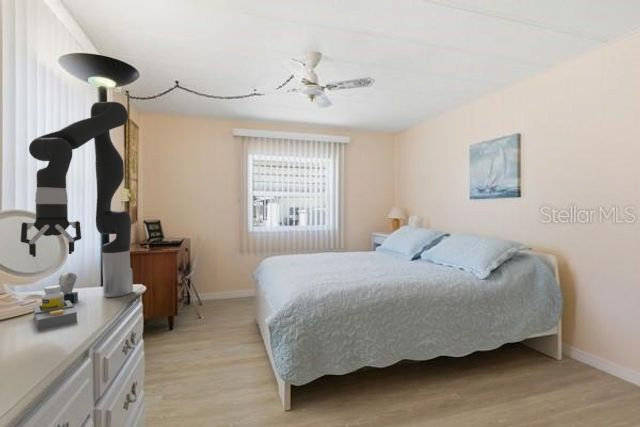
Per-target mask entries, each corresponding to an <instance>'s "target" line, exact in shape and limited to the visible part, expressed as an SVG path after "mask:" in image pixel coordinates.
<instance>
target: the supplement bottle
mask: <svg viewBox="0 0 640 427" xmlns="http://www.w3.org/2000/svg"><path fill="white" fill-rule="evenodd" d="M60 290H61V286H60V285H59V284H55V285H49V286H46V287H44V294H43V295H42V297H41V305H42V311H43V310H49V309H54V308H60V307H64V294H63V292H60Z"/></svg>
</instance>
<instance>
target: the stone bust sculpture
mask: <svg viewBox="0 0 640 427" xmlns="http://www.w3.org/2000/svg"><path fill="white" fill-rule="evenodd" d="M77 279H78V276H77V275H76V274H75V273H74V272H70V271H69V272H67V271H66V272H61V273H60V275H59V278H58V285H60V286H61V290H60V292H63V294H64V301H67V300H69V301H70V302H71V303H72V305H73V304H75V303H77V302H78V301H79V293H78V291H73V289H74V286H75V284H76V281H77Z"/></svg>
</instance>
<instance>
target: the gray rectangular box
mask: <svg viewBox="0 0 640 427" xmlns="http://www.w3.org/2000/svg"><path fill="white" fill-rule="evenodd" d="M77 315H78V314H77V310H76V309H75V308H74V305H73V304H72V303H71V302H70V301H69V300H67V301H64V307H60V308H54V309H49V310H43V311H42V304H41V305H40V304H39V305H33V319H34V322H35V325H36V328H37V331H41V330H45V329H51V328H55V327H59V326H64V325H67V324H74V323H77V322H78V316H77Z"/></svg>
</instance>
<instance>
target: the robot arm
mask: <svg viewBox="0 0 640 427" xmlns="http://www.w3.org/2000/svg"><path fill="white" fill-rule="evenodd" d="M128 119H129V114H128V111H127V108H126V107H125V105H124V104H122V103H121V102H117V101H97V102H94V103H93V104H92V105H91V107H90V117H88V118H83V119H80V120H78V121H77V120H76V121H74V122H72V123H70V124H68V125H65V127H63V128H60V130H57V131H54V132H50V133H47V134H44V135H41V136H38V137H36V138H35V139H33V140H32V141H31V142H30V143H29V146H28V151H29V154H30V155H31V157H32V158H34V159H35V160H37V161H41V162H48V163H47V166H46V167H43V168H40V169H38V170H37V171H36V176H35V178H36V192H35V199H34V201H35V221H34V222H27V221H24V222H22V223H21V228H20V230H21V231H20V242H21V243H23V244H28V245H29V246H28V247H29V248H28V250H29V251H28V253H29V255H30V256H32V258H34V257H36V256H37V243H36V242H37V241H38V240H39V239H40V238H41V236H45V237H50V236H56V237H57V236H61V235H62V236H63V237H65V238H66V240H68V255H72V253H74V252H75V243H76V241H79V240H81V239H82V231H81V222H80V221H79V220H76V221H69V220H68V218H69V217H68V215H69V214H68V210H69V209H68V202H69V201H68V200H69V199H68V193H67V174H68V172H69V168H70V166H71V162H72V159H73V151H74V150H76V149H79V148H81V147H82V146H83V145H85V144H86V143H88V142H90V141H92V140H94V154H95V155H94V156H95V161H94V162H95V163H94V164H95V180H96V208H95V210H96V211H95V225H96V230H97V232H99V234H101V235H115V239H114V240H112V241H109V242H107V243H104V244H103V245H102V247H101V252H102V253H101V255H102V256H101V257H102V261H101V262H102V287H103V288H102V289H103V297H105V298H115V297H116V298H117V297H122V296H126V295H128V294H131V293H132V292H134V282H133V280H134V278H133V268H132V267H131V256H130V255H131V254H130V250H131V235H132V230H131V229H132V218H131V215H130V213H129V212H128V211H126V210H112V208H111V207H112V200H113V197H114V196H115V194H116V192H117V191H118V189H119V187H121V184H122V183H123V181H124V178H125V177H124V176H125V166H124V160H123V157H122V155H121V154H120V152H119V151H118V150H117V148H116V147H115V145H114V144H113V142H112V139H111V138H112V137H111V134H110V131H111V130H113V129H116V128H120V127H122V126H124V125H125V124H126V123H127V122H128ZM70 226H72V228H73V229H75V236H71V234H70V233H68V231H67V229H68V228H69V227H70ZM32 227H34V228H35V229H36V230H37V233H36V234H35V235H34V236H33V237H32V238H28V230H31V229H32Z"/></svg>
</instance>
